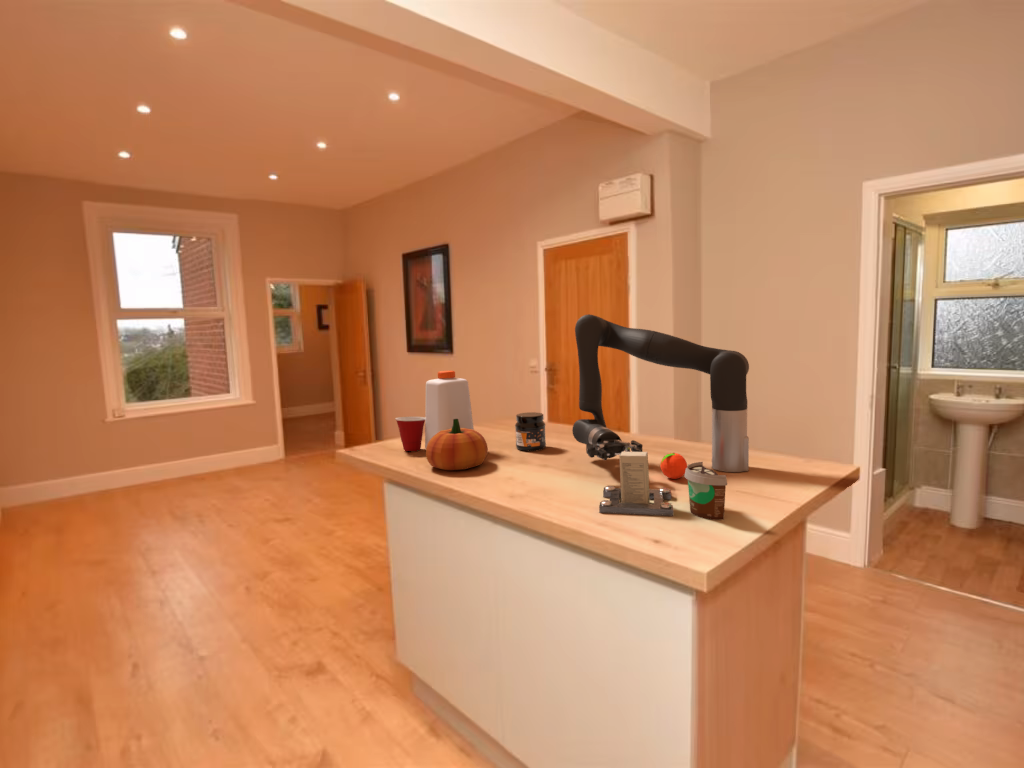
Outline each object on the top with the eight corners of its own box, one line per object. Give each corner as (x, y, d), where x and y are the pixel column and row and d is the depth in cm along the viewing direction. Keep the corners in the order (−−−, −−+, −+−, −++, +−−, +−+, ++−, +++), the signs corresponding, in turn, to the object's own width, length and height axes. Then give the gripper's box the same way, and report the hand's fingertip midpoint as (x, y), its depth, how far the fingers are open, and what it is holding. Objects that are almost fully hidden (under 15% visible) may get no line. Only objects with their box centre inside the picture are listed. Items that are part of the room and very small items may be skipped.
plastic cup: (434, 448, 193) (432, 415, 192) (413, 454, 184) (411, 420, 183) (412, 445, 199) (410, 413, 197) (390, 452, 190) (388, 418, 188)
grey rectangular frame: (670, 496, 130) (670, 487, 130) (673, 516, 117) (673, 506, 116) (604, 493, 134) (604, 485, 134) (599, 512, 121) (599, 503, 120)
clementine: (670, 484, 140) (670, 457, 139) (652, 478, 146) (651, 452, 145) (692, 479, 143) (692, 453, 142) (674, 473, 149) (673, 448, 148)
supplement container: (513, 451, 182) (512, 417, 181) (518, 445, 193) (517, 412, 191) (544, 452, 181) (543, 416, 179) (547, 444, 191) (546, 411, 190)
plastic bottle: (456, 443, 199) (452, 368, 196) (480, 449, 188) (476, 370, 185) (420, 450, 190) (416, 372, 187) (444, 457, 178) (439, 374, 175)
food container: (675, 504, 124) (675, 462, 123) (701, 503, 124) (701, 461, 123) (698, 524, 112) (698, 477, 111) (727, 522, 112) (727, 475, 111)
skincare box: (649, 502, 127) (649, 451, 125) (648, 508, 122) (647, 455, 121) (622, 500, 129) (621, 450, 127) (620, 506, 125) (619, 454, 123)
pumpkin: (462, 455, 181) (460, 411, 179) (501, 464, 167) (499, 417, 165) (414, 467, 167) (411, 420, 166) (452, 478, 154) (449, 427, 152)
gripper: (579, 430, 150) (594, 442, 134) (628, 427, 152) (649, 439, 136) (580, 456, 151) (595, 471, 135) (628, 453, 153) (649, 468, 137)
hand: (622, 455), depth 135 cm, fingers open, 8 cm apart
